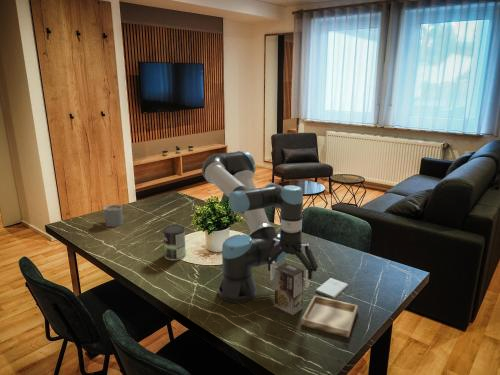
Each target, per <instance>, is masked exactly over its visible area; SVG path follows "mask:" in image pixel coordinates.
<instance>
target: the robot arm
mask: <svg viewBox="0 0 500 375" xmlns="http://www.w3.org/2000/svg"><path fill="white" fill-rule="evenodd" d="M255 164H256V162H255V160H254V157H253V156H252V154H251V153H250V152H248V151H245V150H244V151H240V150H237V151H234V152H221V153H219V152H218V153H214V154H212V155H209V156H208V157H207V158H206V159H205V160H204V161H203V164H202V166H201V167H202V168H201V173H202V176H203V178H204V180H206V181H207V182H208V183H210V184H214V185H215V186H216V187H217V189H219V191H221V192H222V194H224V195H225V196H226V197H227V198H228V203H229V207H230V209H231V211H232V212H234V213H244V214H243V215H244V217H245V220H246V222H247V226H248V228H249V230H250V233H249V235H248V234H235V235H232V236H228V237H227V238H226V239H225V240H224V241H223V243H222V249H221V261H222V277H221V279H220V282H219V286H218V296H219V297H220V298H221V299H222V300H223V301H226V302H229V303H233V304H241V303H245V302H249V301H251V300H253V299H254V298H255V297H256V296H257V286H256V284H255V282H256V281H255V280H254V276H253V268H257V267H262V266H267V270H268V271H269V272H270V273H269V274H270V275H269V276H270V277H269V279H270V281H273V280H275V269H276V263H279V262H282V261H283V260H284V259H285V258H286V256H287V255H288V254H290V255H293V256H294V255H295V257H296V258H298V259H299V260H300V263H302V265H303V266H304V267H305V269H306V271H305V280H304V281H305V283H304V284H305V285H304V288H305V289H308V288H309V286H310V281H311V280H312V278H313V273H314V272H317V270H318V269H319V266H318V263H317V261H316V259H315V257H314V254H313V252H312V250H311V244H310V243H305V244H303V243H302V234H303V233H302V228H303V204H304V197H303V195H304V194H303V188H302V187H301V186H298V185H294V184H293V185H290V184H289V185H284V186H282V185H281V184H278V183H273V182H270V183H268V184H266V185H264V186H263V187H258V188H256V185H255V182H254V179H253V178H254V176H255V173H256V165H255ZM272 207H276V208H278V209H279V210H280V232H279V231H277V229H276V227H275V226H274V225H271V224H270V222H269V219H268V215H267V214H266V211H265V209H267V208H272ZM302 249H303V251H304V252H305V254H304V253H303V251H302ZM305 255H306V256H305Z"/></svg>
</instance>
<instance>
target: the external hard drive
mask: <svg viewBox="0 0 500 375" xmlns="http://www.w3.org/2000/svg"><path fill="white" fill-rule="evenodd" d="M348 286H349V284H348V283H346V282H343V281H341V280H338V279H335V278H333V277H329V279H327V280H326V281H325V282H323V283H322V284H321V285H320V286H318V287H317V288H316V289H315V293H318V294H320V295H323V296H325V297H327V298H329V299H333V300H335V298H336V297H338V296H339V294H341V293H342V292H343V291H344V290H345V289H346V288H347V287H348Z"/></svg>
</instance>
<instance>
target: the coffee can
mask: <svg viewBox="0 0 500 375" xmlns="http://www.w3.org/2000/svg"><path fill="white" fill-rule="evenodd" d="M185 230H186V228H185V226H183V225H180V224H171V225H166V226H165V227H163V228H162V234H163V247H164V248H163V249H164V250H163V251H164V258H165V259H166V260H168V261H179V260H182V259H184V258H185V257H186V255H187V252H186V233H185Z"/></svg>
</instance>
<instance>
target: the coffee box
mask: <svg viewBox="0 0 500 375" xmlns="http://www.w3.org/2000/svg"><path fill="white" fill-rule="evenodd" d="M304 273H305V270H304V269H302V268H299V267H297V266H295V265H294V266H293V265H292V264H288V263H286V262H284V263H282V264H281V265H279V266H277V267H275V277H274V307H276V308H277V309H280V310H281V311H282V312H285V313H287V314H289V315H292V316H294V315H296V314H297V313H298V312H300V311H301V310H303V300H304V298H303V297H304V277H305V276H304V275H305V274H304Z"/></svg>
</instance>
